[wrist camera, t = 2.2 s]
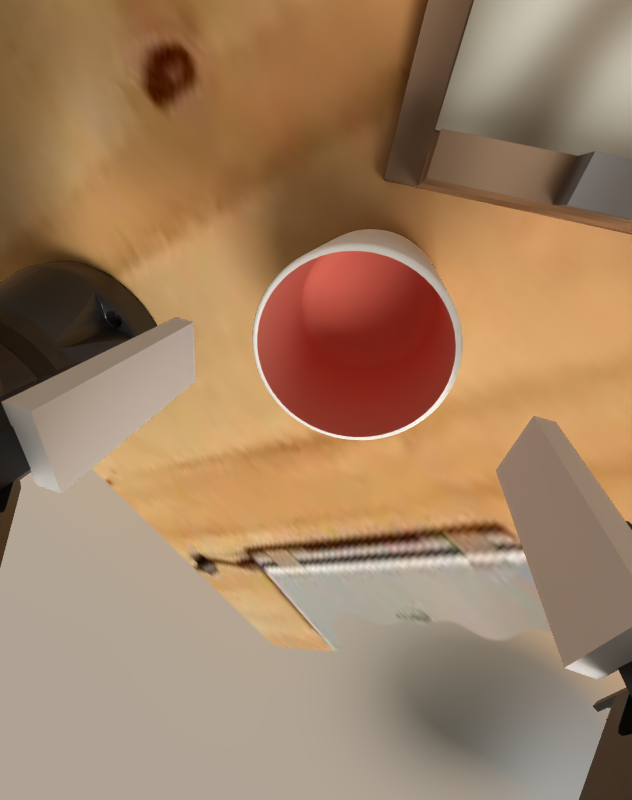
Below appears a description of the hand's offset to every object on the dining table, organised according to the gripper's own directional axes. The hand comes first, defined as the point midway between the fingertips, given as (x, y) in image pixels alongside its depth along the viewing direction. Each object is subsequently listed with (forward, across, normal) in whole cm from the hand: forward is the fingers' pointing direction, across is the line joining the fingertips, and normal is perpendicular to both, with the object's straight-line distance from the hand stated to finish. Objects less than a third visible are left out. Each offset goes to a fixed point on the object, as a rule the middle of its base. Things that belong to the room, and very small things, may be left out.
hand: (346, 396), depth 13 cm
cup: (+14, 0, 0) cm, 14 cm away
